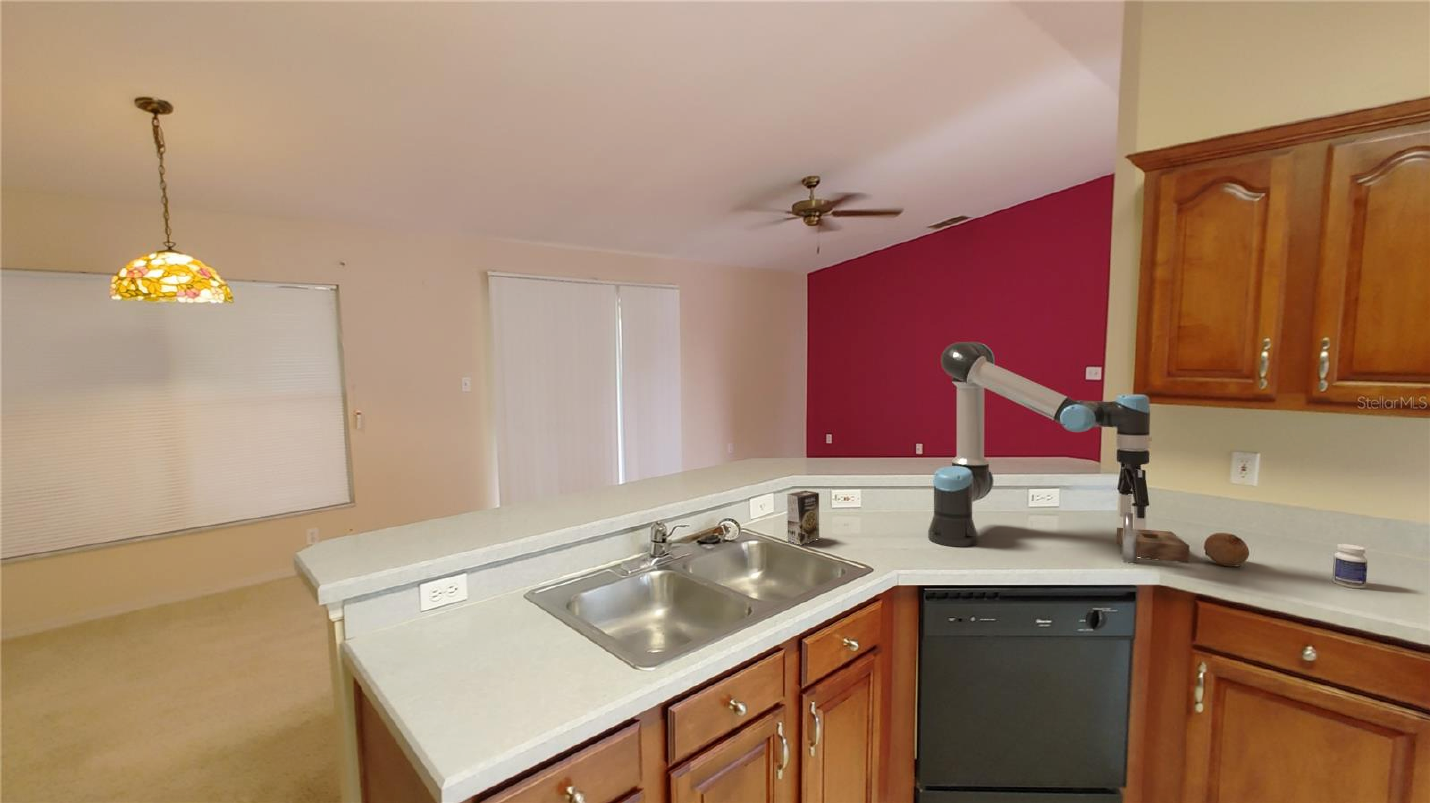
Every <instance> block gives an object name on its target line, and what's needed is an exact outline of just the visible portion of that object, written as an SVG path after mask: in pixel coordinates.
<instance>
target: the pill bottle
mask: <svg viewBox="0 0 1430 803" xmlns="http://www.w3.org/2000/svg"><path fill="white" fill-rule="evenodd" d="M1336 548H1337V550H1338V551H1337V552H1335V553H1334V555H1333V566H1332V569H1333V570H1332V582H1334V583H1335V584H1337V585H1338V586H1343V587H1346V588H1350V589H1351V588H1352V589H1365V588H1366V587H1367V575H1368V558H1366V556H1364V554H1366V548H1365V547H1363V546H1360V545H1356V544H1350V543H1349V544H1348V543H1338V544H1337V547H1336Z"/></svg>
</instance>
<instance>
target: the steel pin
mask: <svg viewBox="0 0 1430 803" xmlns="http://www.w3.org/2000/svg"><path fill="white" fill-rule="evenodd" d="M1122 520H1123V521H1122V524H1123V525H1122V528H1123V550H1122V553H1121V554H1122V557H1121V558H1122V559H1121V560H1123V561H1124V562H1123V561H1122V562H1123V563H1125V562H1128V563H1127V564H1129V563H1136V564H1137V562H1138V558H1137V540H1138V529H1133V512H1131V513H1129V512H1126V513H1124V515H1123V519H1122Z"/></svg>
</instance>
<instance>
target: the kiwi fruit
mask: <svg viewBox="0 0 1430 803" xmlns="http://www.w3.org/2000/svg"><path fill="white" fill-rule="evenodd" d="M1203 543H1204V544H1203V550H1204V551H1205V552H1204V554H1205V556H1207V557H1208V558H1209V559H1210V560H1211V561H1212V562H1214V563H1215V564H1217V565H1221V566H1223V567H1224V566H1226V567H1237V566H1238V567H1239V566H1241V565H1242V564H1244V563H1245V562H1246V561H1247V560H1248V558H1249V556H1250V550H1249V548H1248V545H1247V544H1246V543H1245V541H1244V540H1243V539H1242V538H1240V537H1239V536H1237V535H1235V534H1233V533H1228V532H1227V533H1226V532H1216V533H1213V534H1210V535H1209V536H1208V537H1207V538H1206V539H1205V540H1204V542H1203Z"/></svg>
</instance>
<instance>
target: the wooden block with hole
mask: <svg viewBox="0 0 1430 803" xmlns="http://www.w3.org/2000/svg"><path fill="white" fill-rule="evenodd" d="M1116 544H1117V545H1118V546H1119V547H1120V548H1122V549H1123V527H1116ZM1137 557H1141V558H1150V559H1149V560H1151V559H1158V560H1157V561H1162V560H1166V561H1165V562H1173V561H1178V562H1177V563H1184V562H1187V564H1188V563H1189V561H1190V560H1189V559H1190V544H1188V543H1187V542H1186V541H1184V540H1183V539H1182V538H1180V537H1179V536H1177V534H1176V533H1174V532H1173V531H1170V530H1167V531H1166V530H1154V529H1153V530H1152V529H1146V530H1139V529H1138V540H1137Z"/></svg>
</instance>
